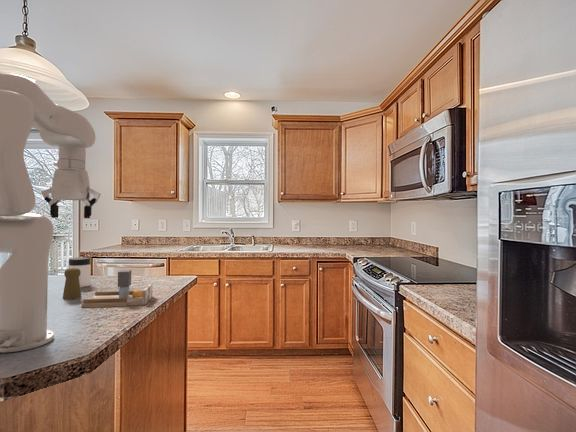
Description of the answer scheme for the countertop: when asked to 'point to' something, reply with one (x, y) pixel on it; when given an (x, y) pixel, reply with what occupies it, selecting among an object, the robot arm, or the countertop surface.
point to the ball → (137, 294)
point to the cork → (72, 284)
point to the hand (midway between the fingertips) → (71, 217)
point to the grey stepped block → (124, 283)
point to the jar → (82, 269)
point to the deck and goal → (117, 299)
